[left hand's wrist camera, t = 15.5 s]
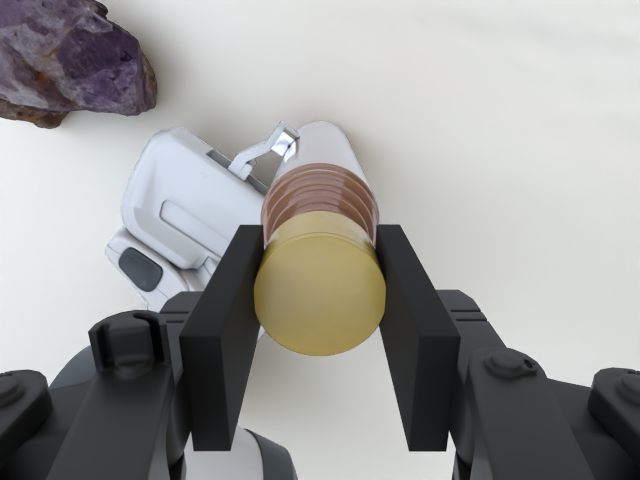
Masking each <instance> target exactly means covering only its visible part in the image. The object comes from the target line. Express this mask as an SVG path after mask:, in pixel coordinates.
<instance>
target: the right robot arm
mask: <svg viewBox="0 0 640 480" xmlns="http://www.w3.org/2000/svg"><path fill="white" fill-rule="evenodd" d="M286 126H287V127H286ZM297 136H298V133H297V132H296V131H295V130H293V129H292V128H291V127H290V126H288V125H287V124H286V123H284V122H283V121H281V122H280V123H279V125H278V126H277V127H276V129H275V130H274V131H273V133H272V134H271V136H270V137H269V139H268V140H265V141H262V142H260V143H258V144H255V145H253V146H251V147H249V148H246V149H244V150H242V151H241V152H240V153H239V154H237V155H236V157H235V158H234V160H233V161H231V160H229V159H228V158H226V157H225V156H224V155H222V154H221V153H219V152H218V151H217V150H215V149H214V148H212V147H211V146H210V145H208V144H207V143H205V142H204V141H203V140H201V139H200V138H198V137H197V136H196V135H194V134H193V133H192V132H190V131H189V130H187V129H186V128H184V127H174V128H168V129H164V130H162V131H159V132H158V133H156V134H155V135H154V136H153V137H152V138H151V139H150V140H149V142H148V143H147V145H146V147H145V149H144V150H143V152H142V154H141V156H140V158H139V160H138V162H137V164H136V166H135V168H134V170H133V172H132V175H131V177H130V179H129V182H128V184H127V187H126V189H125V192H124V195H123V198H122V202H121V217H122V221H123V223H124V226H123V227H121V229H120V230H119V231H118V232H117V233H116V234H115V235H114V236H113V238H112V239H111V240H110V242H109V243H108V245H107V247H106V250H105V252H106V256H107V258H108V259H109V261H110V262H111V263H112V264H113V265H114V266H115V267H116V268H117V269H118V270H119V271H120V272H121V274H122V275H123V276H124V277H125V278H126V279H127V280H128V281H129V282H130V283H131V284H132V285H133V287H134V288H135V289H136V290H137V291H138V292H139V293H140V295H141V296H142V297H143V298H144V299H145V301H146V302H147V305H146V308H145V310H150V311H154V312H158V313H159V311H160V310H161V308H162V307H163V306H164V304H165V303H166V301H167V300H169V299H170V298H172V297H173V296H175V295H176V294H178V293H179V292H181V291H204V289H205V288H206V286H207V284H208V282H209V280H210V278H211V277H212V275H213V273H214V271H215V269H216V268H217V266H218V264H219V262H220V260H221V258H222V257H223V255H224V253H225V251H226V249H227V247H228V246H229V244H230V242H231V240H232V238H233V236H234V235H235V233H236V231H237V229H238V227H239V226H240V225H261V224H260V216H261V208H262V205H263V201H264V199H265V197H266V194H267V192H268V190H269V188H268V187H267V186H266V185H264V184H263V183H261V182H260V181H259V180H257V179H256V178H254V177H253V176H252V175H250V172H251V171H252V169H253V168H254V167H255V165H256V164H257V163H256V161H255V160H254V158H257V157H259V156H261V155H263V154H266V153H268V152H270V151H272V150H273V151H274V152H276V153H277V154H279V155H280V156H282V157H283V155H284V154H285V153H286V151H287V149H288V147H289V145H290V144H292V143H293V142H294V140H295V139H296V137H297ZM370 189H371V188H370ZM371 191H372V190H371ZM265 248H266V247H265V245H264V249H265ZM264 332H265V330H264V328H263V327H262V326H260V330H259V335H258V339H257V341H258V340H259V338H260V337H261V336H262V335H263V334H264ZM95 373H96V367H95V362H94V357H93V353H92V348H91V345H90V346H88V347H86V348H85V349H83V350H82V351H80V352H79V353H78V354H77V355H76V356H74V357H73V358H72V359H71V360H70V361H69V362H68V363H67V364H66V366H65V367H64V368H63V369H62V370H61V372H60V373H59V374H58V375H57V377H56V378H55V379H54V381H53V382H52V384H51V385H50V387H49V389H54V388H59V387H64V386H69V385H74V384H79V383H83V382H87V381H90V380H92V379H93V377H94V375H95ZM184 453H185V460H186V468H187V471H186V480H298V478H297V474H296V471H295V467H294V465H293V462H292V459H291V456H290V454H289V452H288V451H287V449H286V448H284V447H283V446H281V445H279V444H276V443H274V442H272V441H270V440H268V439H266V438H264V437H262V436H260V435H258V434H256V433H254V432H252V431H250V430H248V429H243V428H241V427H240V426H238V425H237V426H236V431H235V435H234V439H233V443H232V447H231V451H193V443H192V436H191V432H190V435H189V438H188V441H187V443H186V446H185V449H184Z"/></svg>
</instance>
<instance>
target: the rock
mask: <svg viewBox="0 0 640 480" xmlns="http://www.w3.org/2000/svg"><path fill="white" fill-rule="evenodd" d="M107 13H108V9H107V8H106V7H105V6H104V5H103V4H102V3H99V2H97V1H95V0H0V117H1V118H5V119H10V120H21V121H28V122H31V123H34V124H35V125H36V126H37V127H40V128H47V129H52V128H56V127H58V126H60V123H61V121H62V120H63V118H64V117H65V116H66V115H67V114H68V112H69V111H77V110H89V111H93V112H108V113H119V114H122V115H125V116H135V115H139V114H140V113H141V112H147V111H148V110H150V109H153V108H155V105H156V94H157V85H156V81H155V75H154V72H153V69H152V68H151V66H150V65H149V61H148V60H147V59H146V57H145V56H144V54H143V53H142V51H141V50H140V45H139V42H138V40H137V39H136V38H135V37H133V36H132V35H131V34H130V33H129V32H127V31H126V30H124V29H123V28H121V27H120V26H118V25H116V24H115V23H113V22H111V21H109V20H107V18H106V16H105V15H106V14H107Z"/></svg>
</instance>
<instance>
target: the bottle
mask: <svg viewBox="0 0 640 480" xmlns="http://www.w3.org/2000/svg"><path fill="white" fill-rule="evenodd" d="M297 133H298V136H297V137H296V139H295V140H294V142H293V143H292V144H290V145H289V147H288V149H287V151H286V153H285V155H284V158H283V160H282V162H281V164H280V166H279V168H278V171H277V173H276V175H275V177H274V179H273V181H272V184H271V186H270V188H269V190H268V192H267V194H266V197H265V199H264V201H263V205H262V208H261V216H260V224H261V225H263V228H264V245H265V247H266V245H267V243H268V241H269V239H270V237H271V236H272V234H273V233H274V232H275V230H276V229H277V228H278V227H279V226H280V225H282V224H283V223H284V222H286V221H287V220H289V219H291V218H292V217H294V216H297V215H299V214H303V213H306V212H312V211H327V212H333V213H337V214H340V215H343V216H345V217H347V218H349V219H351V220H353V221H354V222H355V223H357V224H358V225H359V226H360V227H361V228H362V229H363V230H364V231H365V232H366V233H367V235H368V236H369V238H370V240H371V241H372V244H373V246H375V243H376V225H379V210H378V205H377V202H376V199H375V197H374V195H373V193H372V191H371V189H370V186H369V184H368V182H367V180H366V178H365V176H364V173H363V171H362V169H361V167H360V165H359V163H358V161H357V158H356V156H355V154H354V152H353V150H352V148H351V145H350V143H349V141H348V139H347V137H346V135H345V134H344V132H343V131H342V130H341V129H340V128H339V127H337V126H336V125H334V124H332V123H330V122H326V121H314V122H310V123H307V124H305V125H304V126H302V127H301V128H300V129H299V130H298V131H297Z"/></svg>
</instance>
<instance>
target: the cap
mask: <svg viewBox="0 0 640 480" xmlns="http://www.w3.org/2000/svg"><path fill="white" fill-rule="evenodd" d="M385 296H386V283H385V279H384V276H383V273H382V270H381V267H380V264H379V261H378V258H377V255H376V252H375V249H374V246H373V244H372V241H371V240H370V238H369V236H368V235H367V233H366V232H365V231H364V230H363V229H362V228H361V227H360V226H359V225H358V224H357V223H355V222H354V221H353V220H351V219H349V218H347V217H345V216H343V215H340V214H337V213H333V212H327V211H312V212H306V213H303V214H299V215H297V216H294V217H292V218H291V219H289V220H287V221H286V222H284V223H283V224H282V225H280V226H279V227H278V228H277V229H276V230H275V232H274V233H273V234H272V236H271V237H270V239H269V241H268V243H267V245H266V248H265V251H264V254H263V257H262V260H261V263H260V266H259V269H258V272H257V276H256V279H255V283H254V302H255V313H256V315H257V318H258V320H259V322H260V324H261V326H262V327H263V328H264V330H265V331H266V332H267V333H268V334H269V335H270V337H271V338H273V339H274V340H275V341H276V342H277V343H279V344H280V345H282V346H284V347H285V348H288V349H290V350H292V351H294V352H297V353H301V354H305V355H312V356H328V355H335V354H339V353H342V352H345V351H348V350H350V349H352V348H354V347H356V346H358V345H359V344H361V343H362V342H364V341H365V340H366V339H367V338H368V337H369V336H370V335H371V334H372V333H373V332H374V331H375V329H376V328H377V327H378V325H379V323H380V322H381V320H382V318H383V315H384V312H385Z"/></svg>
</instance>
